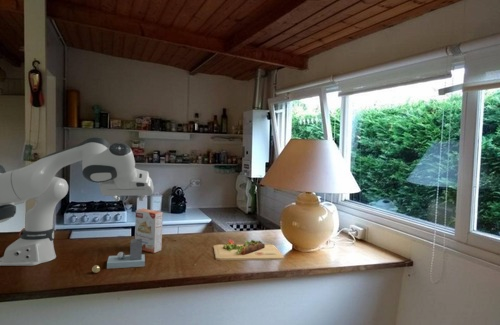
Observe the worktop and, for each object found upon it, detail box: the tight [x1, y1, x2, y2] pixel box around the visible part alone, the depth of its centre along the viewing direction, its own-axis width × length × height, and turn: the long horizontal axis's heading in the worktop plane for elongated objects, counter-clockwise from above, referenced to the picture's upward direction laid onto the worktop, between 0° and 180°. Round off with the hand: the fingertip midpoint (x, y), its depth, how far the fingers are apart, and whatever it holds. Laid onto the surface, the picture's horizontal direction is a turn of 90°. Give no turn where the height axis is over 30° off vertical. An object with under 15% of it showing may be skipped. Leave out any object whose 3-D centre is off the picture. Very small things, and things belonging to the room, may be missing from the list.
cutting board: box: [213, 238, 285, 261], centre depth 182 cm, size 35×23×8 cm
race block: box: [129, 238, 143, 260], centre depth 159 cm, size 5×6×8 cm
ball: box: [116, 251, 126, 259], centre depth 157 cm, size 3×3×3 cm
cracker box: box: [134, 208, 164, 254], centre depth 179 cm, size 14×6×21 cm, turn 62°
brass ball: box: [91, 264, 101, 274], centre depth 145 cm, size 3×3×3 cm
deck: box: [106, 253, 146, 270], centre depth 158 cm, size 16×10×2 cm, turn 108°
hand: (129, 199), depth 142 cm, fingers open, 8 cm apart
